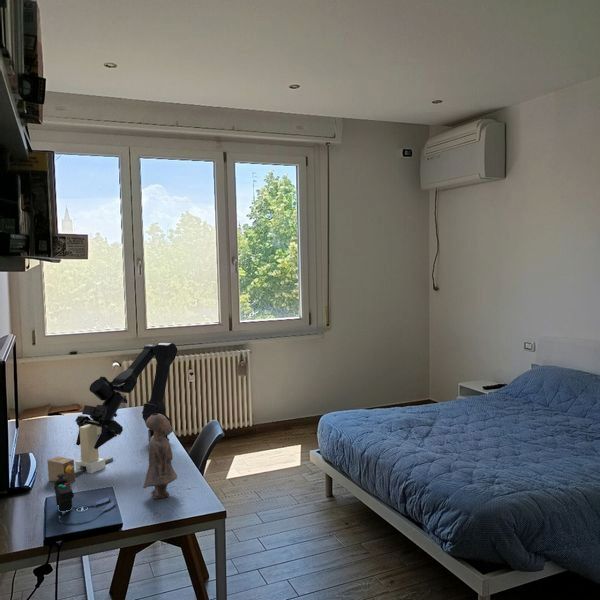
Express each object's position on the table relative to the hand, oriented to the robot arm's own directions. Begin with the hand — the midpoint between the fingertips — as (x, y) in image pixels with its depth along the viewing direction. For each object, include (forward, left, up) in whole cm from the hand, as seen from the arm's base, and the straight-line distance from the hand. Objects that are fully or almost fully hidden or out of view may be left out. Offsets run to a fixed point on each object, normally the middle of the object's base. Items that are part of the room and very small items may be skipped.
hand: (86, 446), depth 191 cm
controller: (+14, +30, -8) cm, 35 cm away
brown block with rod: (+1, +1, -8) cm, 8 cm away
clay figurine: (-12, +37, -8) cm, 40 cm away
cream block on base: (-1, -1, -8) cm, 8 cm away
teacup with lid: (-17, -43, -8) cm, 47 cm away
